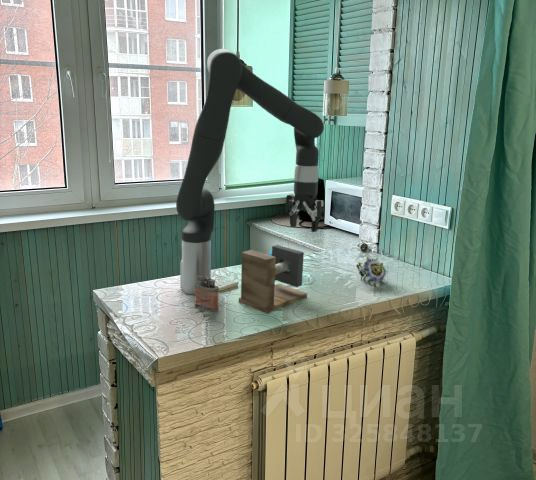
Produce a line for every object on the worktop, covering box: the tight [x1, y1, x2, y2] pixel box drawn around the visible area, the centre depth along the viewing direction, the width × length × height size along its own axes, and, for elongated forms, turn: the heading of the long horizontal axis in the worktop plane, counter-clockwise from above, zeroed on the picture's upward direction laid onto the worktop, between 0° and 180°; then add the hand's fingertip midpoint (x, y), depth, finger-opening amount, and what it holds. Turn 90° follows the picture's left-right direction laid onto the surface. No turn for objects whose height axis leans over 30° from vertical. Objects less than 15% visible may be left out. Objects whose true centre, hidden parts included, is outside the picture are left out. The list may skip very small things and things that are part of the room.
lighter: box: [194, 276, 220, 314], centre depth 155 cm, size 8×3×10 cm, turn 59°
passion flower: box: [356, 255, 389, 289], centre depth 182 cm, size 11×11×12 cm
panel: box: [271, 244, 305, 288], centre depth 167 cm, size 2×11×11 cm, turn 48°
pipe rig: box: [238, 249, 308, 315], centre depth 164 cm, size 20×12×16 cm, turn 138°
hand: (303, 229), depth 170 cm, fingers open, 8 cm apart
